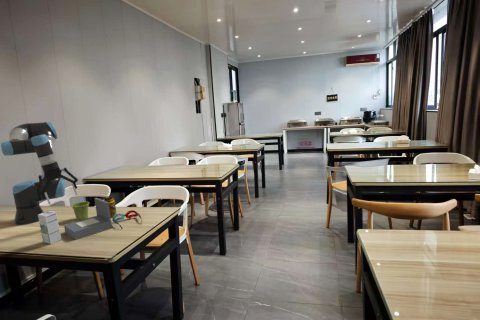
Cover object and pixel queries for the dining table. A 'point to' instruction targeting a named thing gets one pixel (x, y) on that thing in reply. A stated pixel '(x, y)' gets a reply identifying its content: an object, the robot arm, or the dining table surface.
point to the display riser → (91, 222)
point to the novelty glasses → (126, 216)
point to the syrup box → (49, 227)
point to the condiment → (111, 205)
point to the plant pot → (81, 210)
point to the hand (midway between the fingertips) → (63, 199)
